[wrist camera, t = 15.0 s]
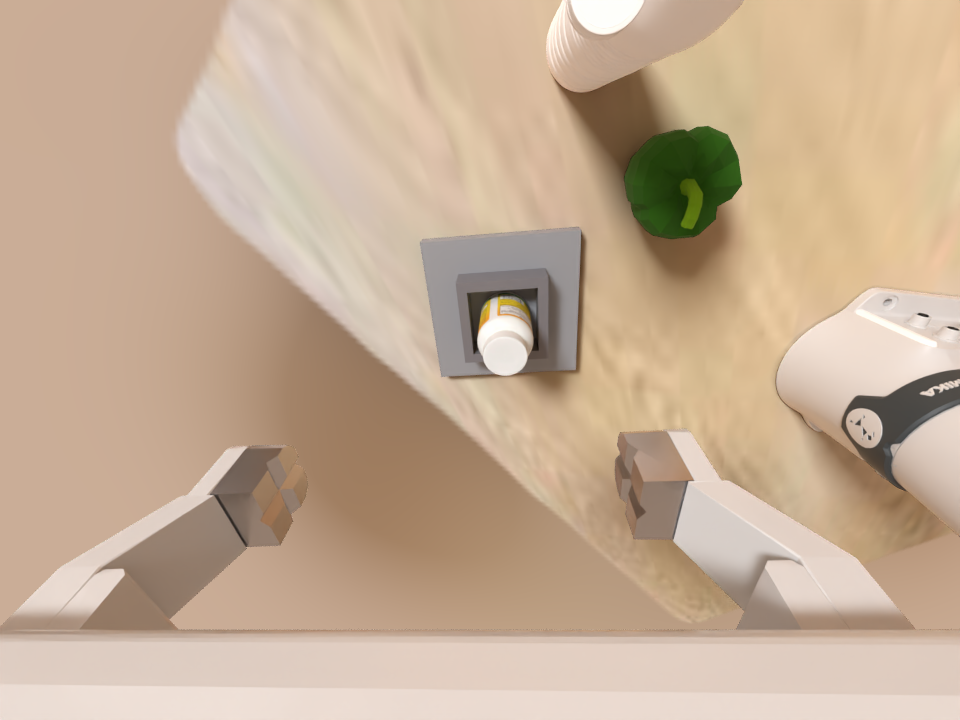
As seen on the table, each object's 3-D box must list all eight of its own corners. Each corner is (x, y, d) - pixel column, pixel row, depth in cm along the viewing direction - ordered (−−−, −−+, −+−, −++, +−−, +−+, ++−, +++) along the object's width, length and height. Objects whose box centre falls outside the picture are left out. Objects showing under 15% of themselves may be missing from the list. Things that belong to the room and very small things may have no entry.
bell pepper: (650, 106, 34) (701, 97, 26) (721, 156, 36) (791, 163, 27) (592, 196, 38) (620, 215, 30) (659, 238, 40) (703, 267, 31)
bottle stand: (578, 227, 40) (587, 237, 36) (573, 363, 48) (580, 383, 44) (422, 239, 41) (414, 250, 37) (442, 370, 49) (438, 390, 45)
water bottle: (606, -29, 30) (877, -431, 9) (637, 61, 33) (902, -74, 11) (507, 47, 33) (524, -115, 11) (543, 125, 35) (612, 115, 14)
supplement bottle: (517, 282, 41) (522, 320, 33) (537, 324, 44) (545, 369, 35) (471, 302, 43) (465, 343, 34) (493, 342, 45) (491, 390, 37)
